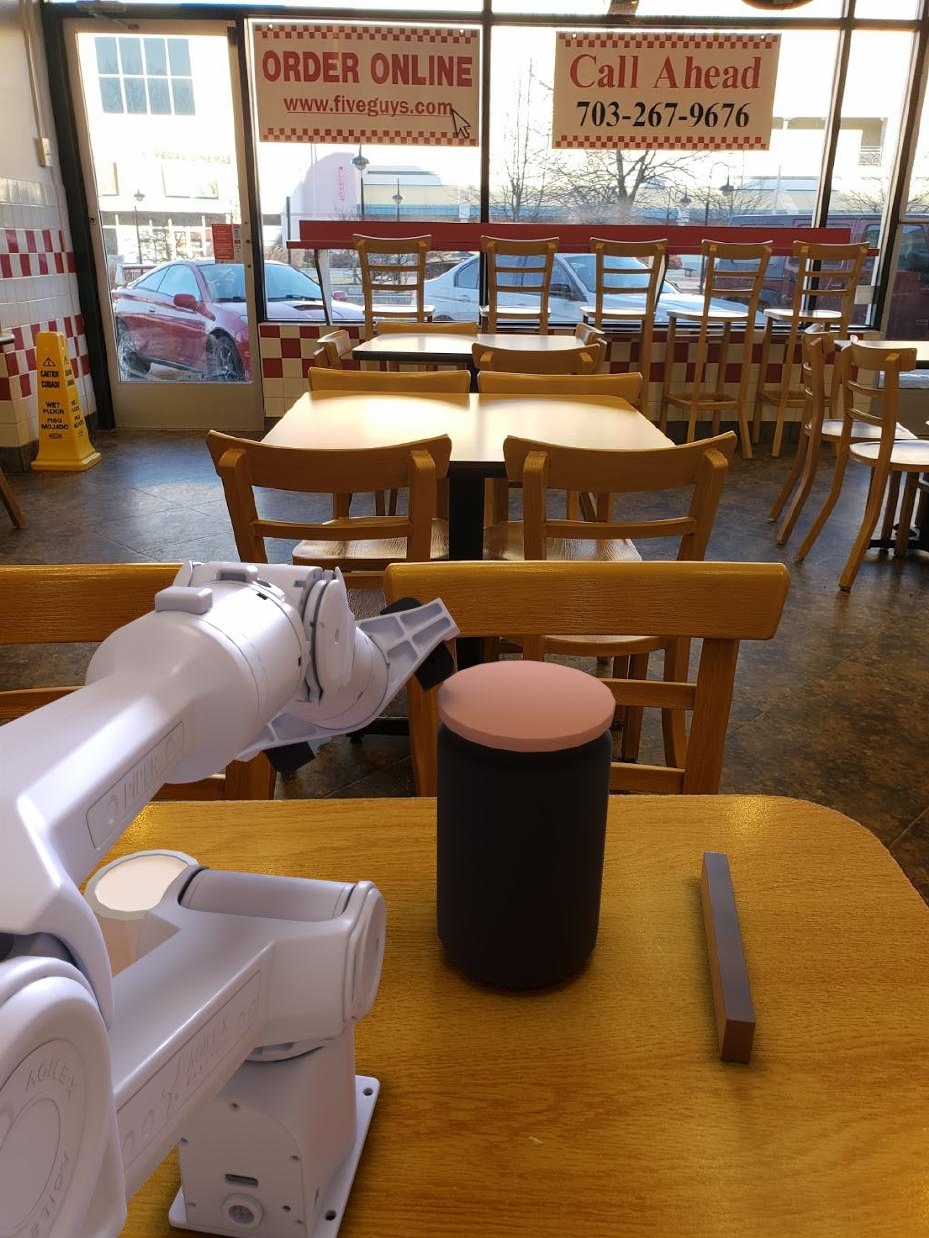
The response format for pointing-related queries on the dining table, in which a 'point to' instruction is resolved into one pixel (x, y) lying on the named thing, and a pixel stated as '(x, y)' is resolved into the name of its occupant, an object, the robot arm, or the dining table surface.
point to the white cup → (130, 898)
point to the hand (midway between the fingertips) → (370, 698)
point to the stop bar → (726, 961)
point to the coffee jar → (521, 819)
